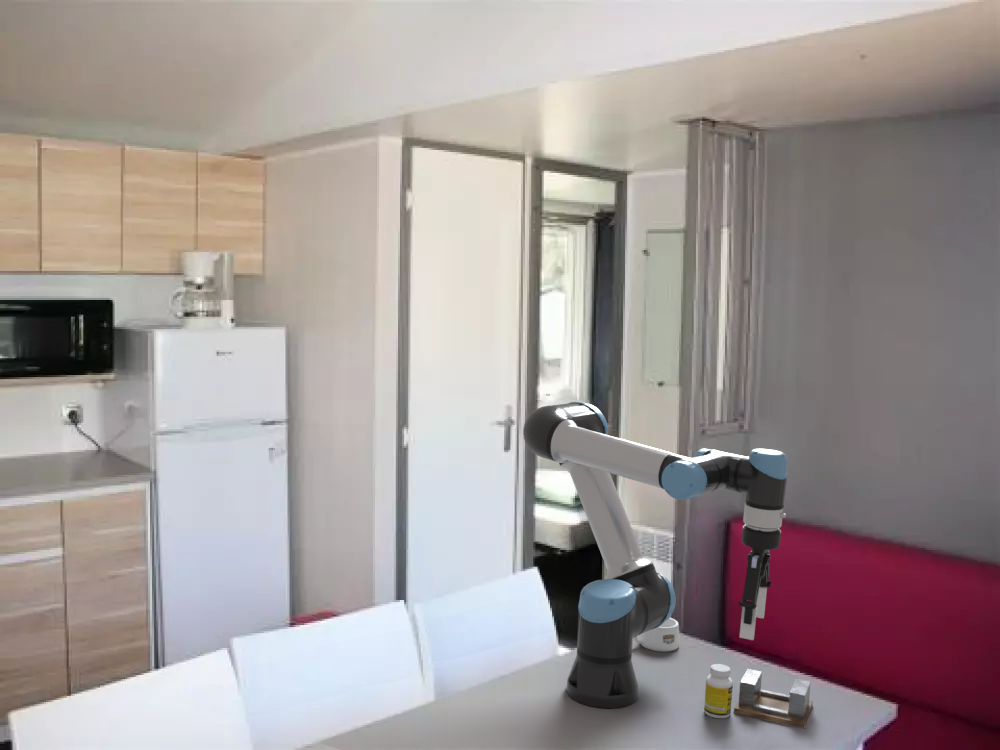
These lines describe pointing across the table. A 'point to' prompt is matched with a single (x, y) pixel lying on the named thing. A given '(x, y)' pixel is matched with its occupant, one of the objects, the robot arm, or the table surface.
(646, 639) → the mug
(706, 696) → the supplement bottle
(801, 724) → the mount board
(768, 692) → the grey rectangular frame
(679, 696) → the table surface
